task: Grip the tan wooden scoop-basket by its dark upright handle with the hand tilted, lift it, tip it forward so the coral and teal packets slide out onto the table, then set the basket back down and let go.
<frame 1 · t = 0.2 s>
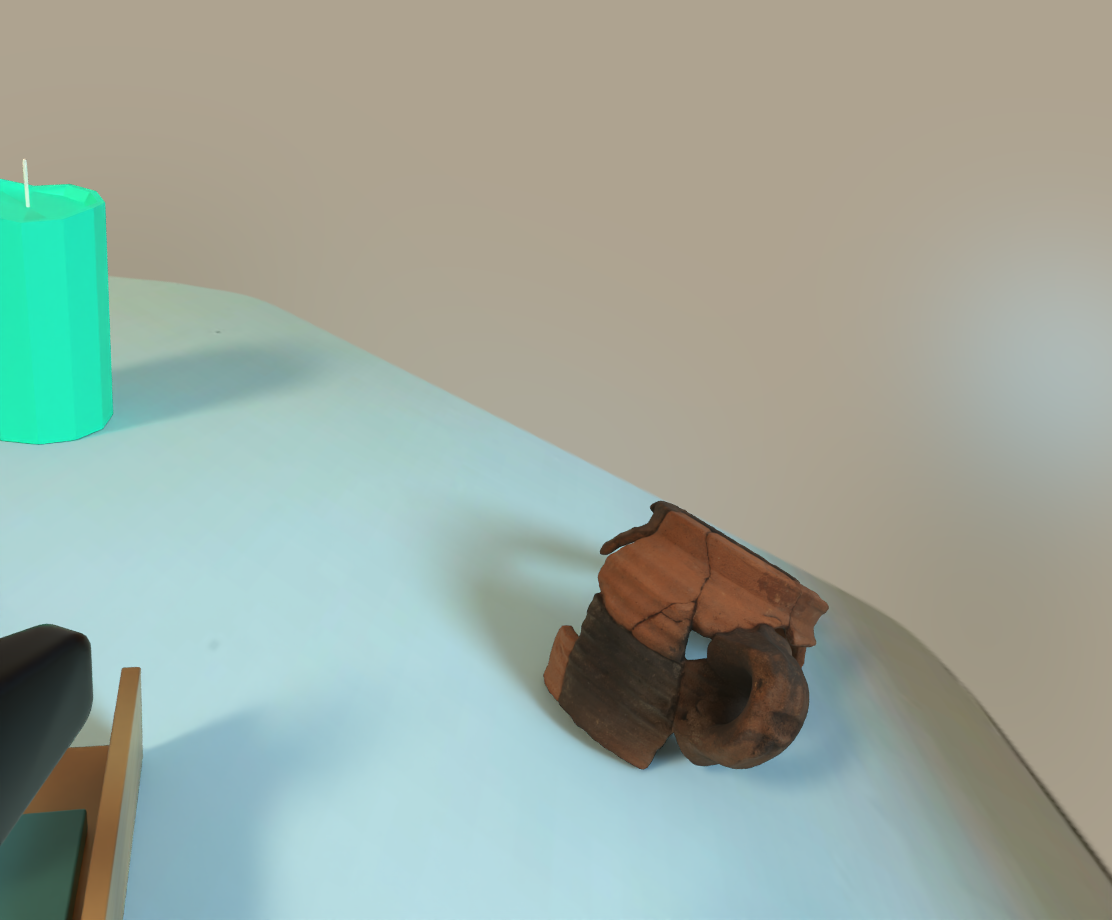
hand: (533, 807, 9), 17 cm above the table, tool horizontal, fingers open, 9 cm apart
candle: (44, 417, 45), on the table
pottery mug: (676, 712, 35), on the table
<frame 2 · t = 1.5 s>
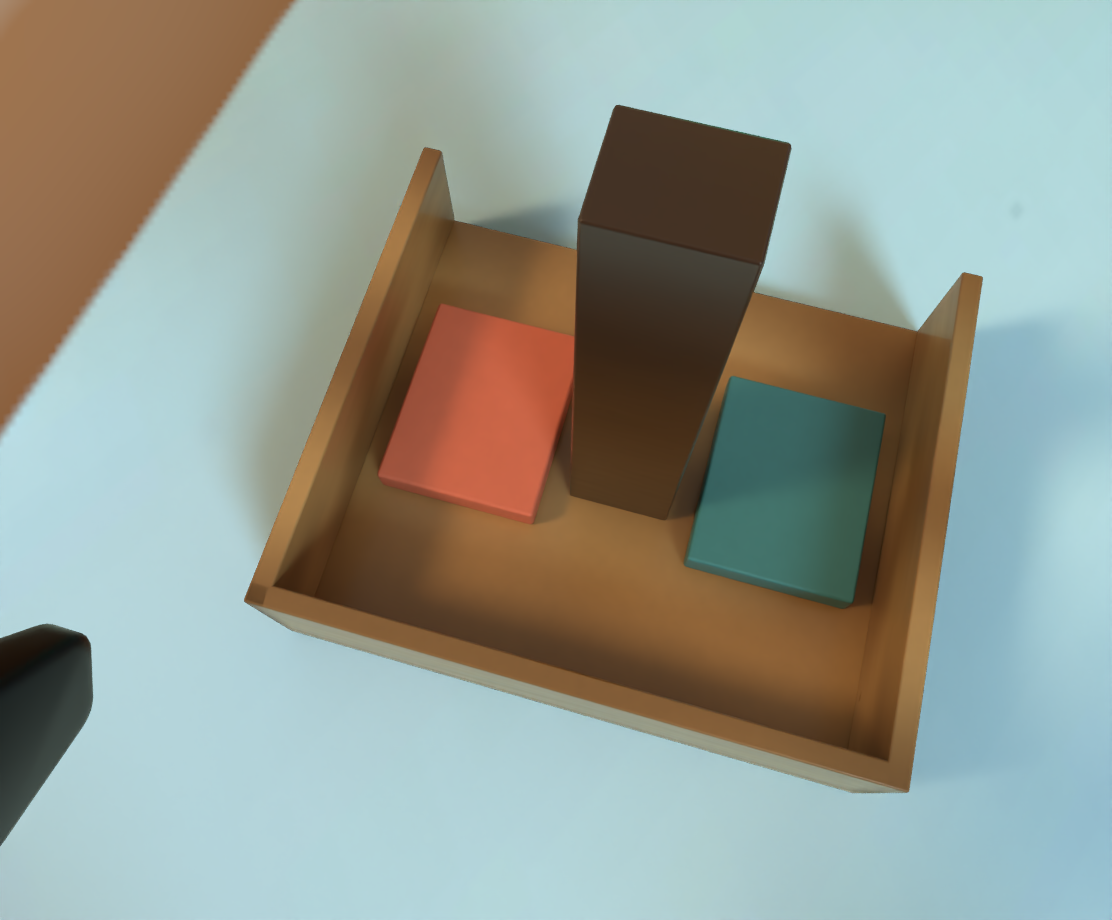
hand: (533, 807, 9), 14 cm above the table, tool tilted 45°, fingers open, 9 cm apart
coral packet: (486, 416, 24), point 1 cm above the table, touching basket
teal packet: (782, 493, 23), point 1 cm above the table, touching basket
basket: (625, 480, 24), on the table, touching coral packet, teal packet
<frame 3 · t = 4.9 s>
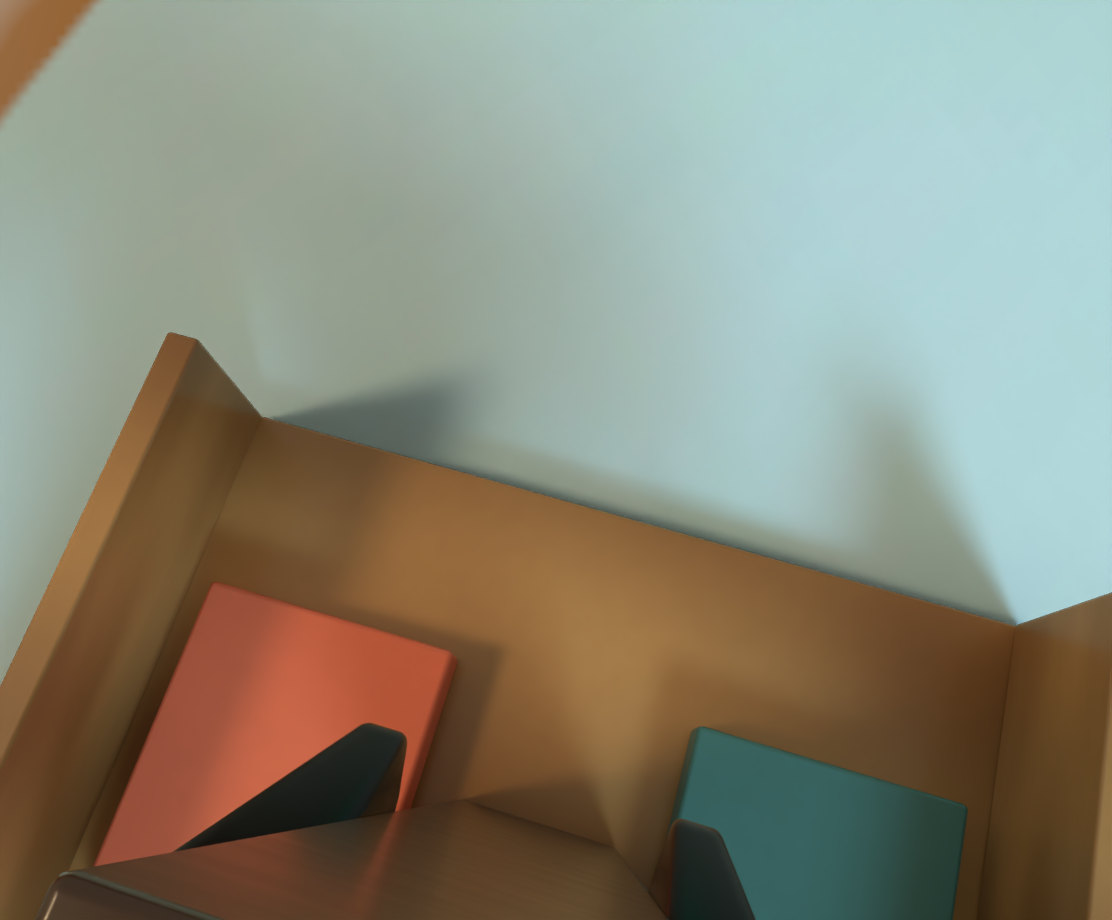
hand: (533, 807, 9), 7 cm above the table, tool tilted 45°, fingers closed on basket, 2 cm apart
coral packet: (285, 779, 14), point 1 cm above the table, touching basket
basket: (519, 888, 14), on the table, touching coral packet, gripper, teal packet
when the fingers open (7 cm above the table, at t = 11.8 s): basket stays where it is, resting on teal packet.
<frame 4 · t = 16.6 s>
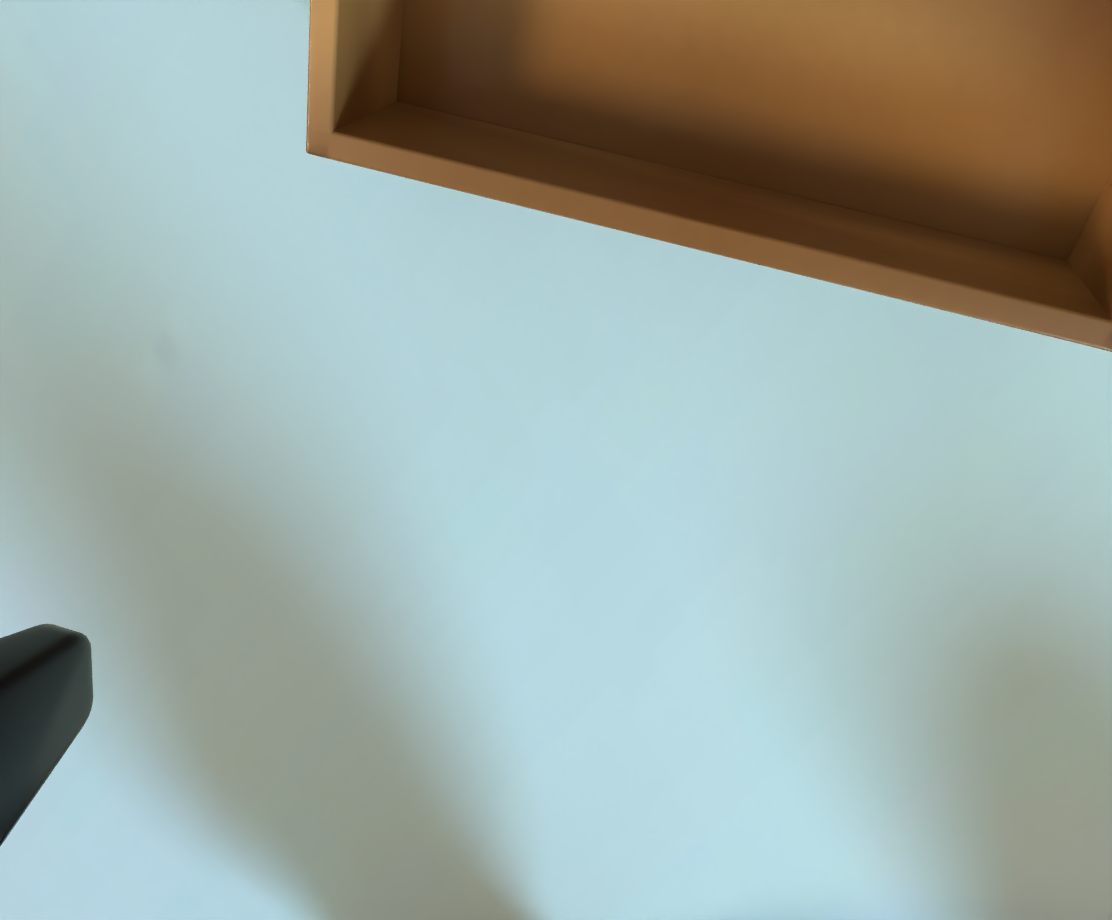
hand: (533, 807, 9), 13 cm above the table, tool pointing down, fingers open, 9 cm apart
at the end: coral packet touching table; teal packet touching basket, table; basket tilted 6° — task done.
